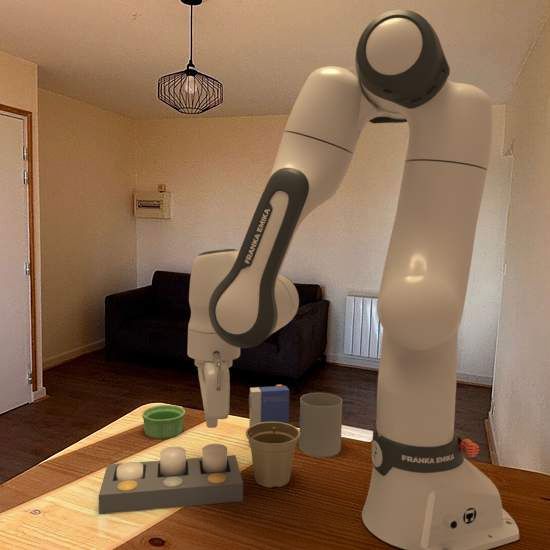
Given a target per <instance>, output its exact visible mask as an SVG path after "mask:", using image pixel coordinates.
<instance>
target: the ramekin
mask: <svg viewBox="0 0 550 550" xmlns="http://www.w3.org/2000/svg"><path fill="white" fill-rule="evenodd" d="M141 415H142V419H143V429H144V430H143V431H144V434H145V435H146V436H147V437H148V438H151V439H158V440H160V439H161V440H162V439H164V440H165V439H171V438H174V437H176V436H179V435H180V434H182V432H183V429H184V419H185V415H186V409H185V408H183V407H181V406H178V405H175V404H173V405H172V404H160V405H154V406H150V407H148V408H146V409H145V410H143V411H142V414H141Z"/></svg>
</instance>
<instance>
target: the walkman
mask: <svg viewBox="0 0 550 550" xmlns="http://www.w3.org/2000/svg"><path fill="white" fill-rule="evenodd" d="M248 408H249V427H250V426H252V425H254V424H257V423H261V422H282V423H287V424H290V418H289V417H290V389H289V388H288V387H287V386H286V385H283V384H276V385H275V386H257V387H250V388H249V395H248ZM249 427H248V428H249ZM248 445H249V448H250V449H251V446H250V444H249V443H248Z"/></svg>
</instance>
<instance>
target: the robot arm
mask: <svg viewBox="0 0 550 550" xmlns="http://www.w3.org/2000/svg"><path fill="white" fill-rule="evenodd" d="M354 62H355V66H353V67H347V68H346V67H341V66H335V65H329V66H322V67H319V68H317V69H315V70H314V71H312V72H311V73H310V75H309V76H308V77H307V79H306V81H305V82H304V84H303V86H302V87H301V89H300V92H299V94H298V96H297V97H296V99H295V102H294V104H293V106H292V109H291V111H290V114H289V117H288V119H287V122H286V125H285V128H284V132H283V134H282V137H281V141H280V143H279V147H278V149H277V154H276V156H275V160H274V163H273V166H272V169H271V172H270V173H269V177H268V179H267V182H266V184H265V188H264V190H263V192H262V194H261V196H260V199H259V201H258V204H257V205H256V208H255V211H254V214H253V216H252V218H251V221H250V223H249V226H248V228H247V231H246V234H245V236H244V238H243V242H242V244H241V247H240V249H239V250H238V249H235V248H225V249H217V250H215V249H214V250H207V251H204V252H201V253H199V254H198V255H197V256H195V258H194V260H193V263H192V266H191V273H190V279H189V290H188V292H189V293H188V303H189V307H190V318H189V322H188V325H187V356H188V357H189V358H191V359H193V360H194V365H195V367H197V371H198V372H197V374H198V380H199V386H200V393H201V398H202V404H203V410H204V411H203V412H204V417H205V423H206V427H207V428H208V429H215V428H217V427H218V420H226V419H228V418H229V414H230V398H231V397H230V394H231V393H230V391H231V387H230V385H231V383H230V381H231V380H230V379H231V378H230V377H231V376H230V369H229V368H231V367H232V366H233V361H234V360H237V359H238V358H239V357H240V356H241V349H248V348H249V349H251V348H254V347H256V346H259V345H260V344H262V343H264V342H265V341H266V340H267V339H268V338H269V337H270V336H271V335H273V333H276V332H277V331H280V329H281V328H283V327H285V326H287V325H288V324H289V323H290V322H291V321H293V319H295V316H296V315H297V313H298V311H299V307H300V294H299V292H298V290H297V287H296V284H294V282H293V281H292V280H291V279H290V278H289V277H287V276H286V275H283V274H281V271H282V267H283V265H284V262H285V261H286V258H287V255H288V252H289V250H290V247H291V244H292V242H293V240H294V237H295V235H296V232H297V231H298V229H299V227H300V225H301V224H302V223H303V221H304V220H305V219H306V218H307V216H309V215H310V213H312V212H313V211H315V209H317V208H318V207H320V206H321V205H323V204H324V203H326V202H327V201H329V200H330V199H331V198H333V196H335V195H336V193H337V191H338V189H339V188H340V186H341V184H342V183H343V180H344V179H345V177H346V174H347V172H348V170H349V167H350V165H351V162H352V159H353V156H354V154H355V150H356V148H357V145H358V143H359V139H360V137H361V134H362V132H363V130H364V127H365V126H366V125H367V124H368V122H370V123H372V124H389V123H390V124H395V123H396V124H398V123H399V124H401V123H402V124H404V123H407V124H408V130H409V131H408V132H409V133H408V134H409V135H408V144H407V149H406V154H405V155H406V156H405V159H404V165H403V166H404V167H403V171H402V177H401V181H400V182H401V184H400V189H399V193H398V194H399V195H398V200H397V205H396V212H395V216H394V221H393V225H392V229H391V234H390V239H389V243H388V248H387V252H386V258H385V261H384V266H383V272H382V277H381V281H380V286H379V290H378V296H377V301H376V311H377V312H376V313H377V317H378V320H379V321H378V322H379V323H380V325H381V328H382V335H381V346H380V357H379V365H378V366H379V367H378V375H377V395H376V396H377V397H376V419H375V420H376V421H375V422H376V423H375V424H374V425H373V428H372V430H373V431H372V440H371V441H372V443H371V463H372V471H371V478H370V484H369V487H368V493H367V495H366V496H367V497H366V499H365V502H364V506H363V508H362V511H361V518H362V519H361V520H362V522H363V524H364V526H365V527H366V529H367V530H368V531H369V532H370V533H371V534H372V535H374V536H375V537H377V538H378V539H380V540H381V541H383V542H384V543H386V544H388V545H391V546H394V547H397V548H400V549H403V550H491V549H493V548H496V547H500V546H504V545H507V544H509V543H513V542H516V541H518V540H519V539H520V530H519V527H518V525H517V523H516V521H515V520H514V518H513V517H512V516H511V515H510V514H509V513H508V512H507V511H506V509H504V508H503V503H502V499H501V494H500V493H499V490H498V488H497V486H496V485H495V483H494V482H493V481H492V480H491V479H490V478H489V477H488V476H487V475H486V474H485V473H484V472H482V471H481V470H480V469H478V468H477V467H476V465H474V464H473V463H471V462H470V461H469V460H468V459H466V458H465V457H464V454H463V453H465V454H466V455H467V456H468V457H470V458H475V457H476V456H478V454H479V451H480V449H479V448H480V447H479V445H478V444H477V443H475V442H473V441H472V440H471V439H470V438H464V439H463V436H462V435H461V434H459V433H457V432H456V431H454V430H455V415H456V395H457V353H458V347H457V346H458V328H459V326H460V324H461V322H462V318H463V313H464V307H465V301H466V299H467V298H466V297H467V292H468V291H467V290H468V285H469V277H470V271H471V265H472V258H473V252H474V245H475V238H476V230H477V224H478V220H479V214H480V209H481V205H482V200H483V193H484V188H485V183H486V178H487V173H488V168H489V162H490V156H491V155H490V154H491V148H492V138H493V137H492V135H493V105H492V101H491V99H490V97H489V95H488V94H487V93H486V92H485V91H484V90H483V89H481V88H479V87H477V86H475V85H472V84H469V83H463V82H456V81H455V82H454V81H451V80H450V79H449V76H450V72H451V68H450V66H449V63H448V61H447V57H446V55H445V52H444V50H443V47H442V45H441V41H440V39H439V37H438V34H437V32H436V31H435V29H434V27H433V26H432V24H430V22H429V21H428V20H427V19H426V18H425V17H424V16H422V15H421V14H420V13H417V12H415V11H413V10H409V9H393V10H388V11H385V12H384V13H382V14H380V15H378V16H377V17H375V18H374V19H373V20H372V21H371V22H370V23H369V24H368V25H367V26H366V27H365V29H364V30H363V32H362V34H361V35H360V37H359V39H358V42H357V45H356V50H355V61H354Z"/></svg>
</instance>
